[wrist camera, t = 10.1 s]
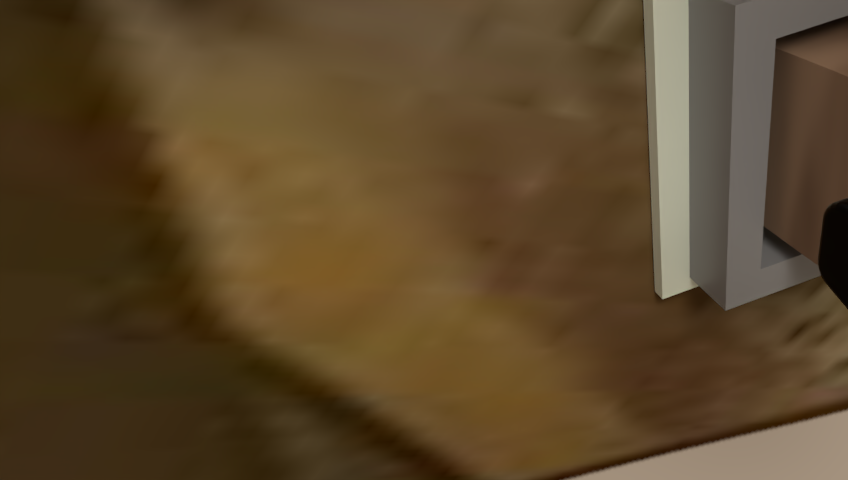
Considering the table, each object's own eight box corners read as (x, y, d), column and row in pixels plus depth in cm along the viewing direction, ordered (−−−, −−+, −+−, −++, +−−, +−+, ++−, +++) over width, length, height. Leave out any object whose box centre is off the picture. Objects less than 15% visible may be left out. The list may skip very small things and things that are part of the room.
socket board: (963, -123, 20) (1052, -117, 18) (900, 202, 26) (961, 235, 24) (642, -25, 19) (696, -5, 17) (654, 291, 25) (696, 334, 23)
